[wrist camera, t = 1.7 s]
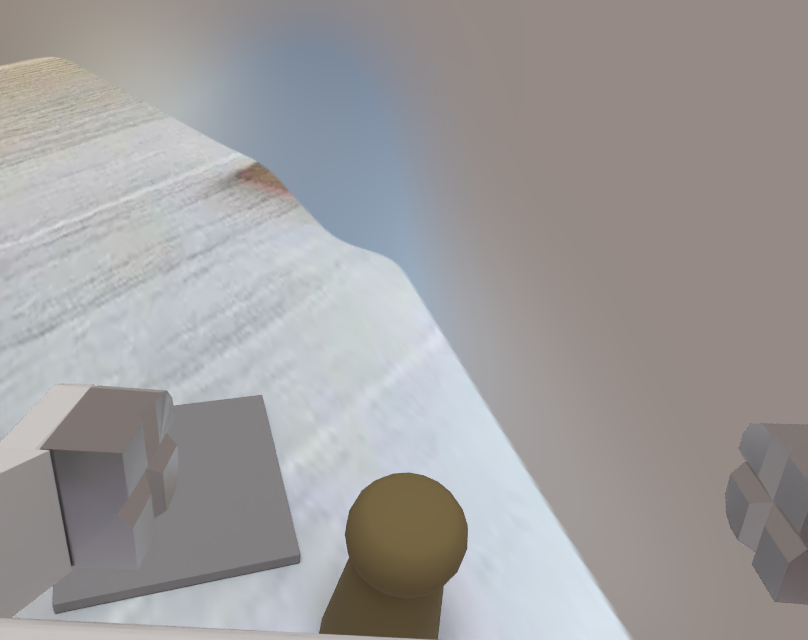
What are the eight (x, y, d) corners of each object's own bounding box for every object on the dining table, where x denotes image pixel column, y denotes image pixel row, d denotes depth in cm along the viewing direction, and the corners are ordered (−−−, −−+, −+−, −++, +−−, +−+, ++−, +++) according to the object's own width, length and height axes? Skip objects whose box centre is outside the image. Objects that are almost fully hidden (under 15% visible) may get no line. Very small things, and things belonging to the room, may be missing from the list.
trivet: (62, 428, 43) (60, 419, 42) (261, 403, 47) (262, 394, 46) (55, 613, 34) (52, 604, 34) (299, 563, 38) (300, 554, 38)
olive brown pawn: (365, 727, 32) (402, 606, 25) (295, 622, 36) (310, 489, 29) (461, 653, 36) (515, 527, 29) (388, 563, 39) (422, 431, 32)
